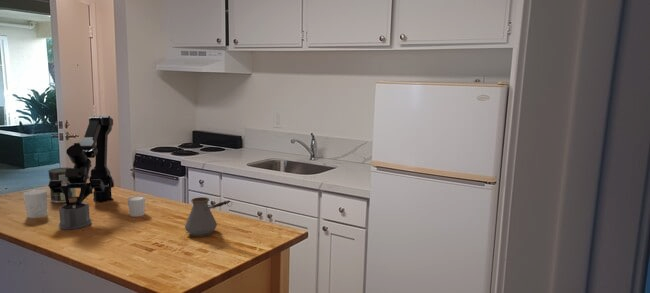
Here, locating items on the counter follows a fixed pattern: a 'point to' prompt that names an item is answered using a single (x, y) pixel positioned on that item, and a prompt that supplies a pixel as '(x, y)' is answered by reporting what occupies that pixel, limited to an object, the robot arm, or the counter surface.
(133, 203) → the shot glass
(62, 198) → the coffee can
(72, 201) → the plunger
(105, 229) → the counter surface
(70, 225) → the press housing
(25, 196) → the white cup
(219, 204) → the coffee pot
